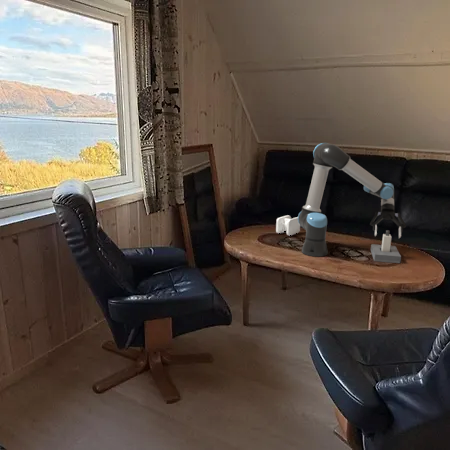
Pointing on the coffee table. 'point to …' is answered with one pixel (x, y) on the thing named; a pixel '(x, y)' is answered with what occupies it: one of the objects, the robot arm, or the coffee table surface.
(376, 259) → the socket panel
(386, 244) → the plug
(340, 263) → the coffee table surface
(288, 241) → the coffee table surface
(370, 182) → the robot arm
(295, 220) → the cable organizer
